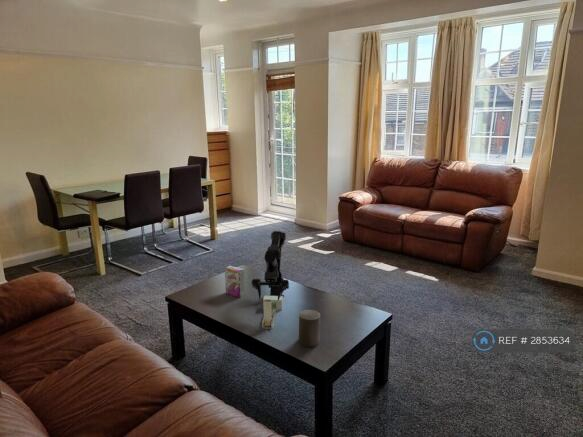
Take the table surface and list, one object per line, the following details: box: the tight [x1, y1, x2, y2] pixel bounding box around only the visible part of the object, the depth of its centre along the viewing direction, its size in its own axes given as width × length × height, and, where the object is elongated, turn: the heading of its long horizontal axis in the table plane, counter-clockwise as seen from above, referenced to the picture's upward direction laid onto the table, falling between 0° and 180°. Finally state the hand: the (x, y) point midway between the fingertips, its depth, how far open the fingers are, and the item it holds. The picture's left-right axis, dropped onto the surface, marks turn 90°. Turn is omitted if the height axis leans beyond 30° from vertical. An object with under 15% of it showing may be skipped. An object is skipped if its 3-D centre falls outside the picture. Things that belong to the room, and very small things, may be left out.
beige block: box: [263, 298, 275, 326], centre depth 205 cm, size 12×4×13 cm, turn 175°
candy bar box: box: [224, 265, 246, 298], centre depth 236 cm, size 11×5×16 cm, turn 58°
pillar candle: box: [298, 309, 321, 348], centre depth 187 cm, size 10×10×15 cm
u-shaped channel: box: [261, 310, 277, 330], centre depth 207 cm, size 14×5×3 cm, turn 175°
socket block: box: [262, 295, 284, 311], centre depth 220 cm, size 5×10×6 cm, turn 85°
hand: (269, 299), depth 204 cm, fingers open, 9 cm apart
